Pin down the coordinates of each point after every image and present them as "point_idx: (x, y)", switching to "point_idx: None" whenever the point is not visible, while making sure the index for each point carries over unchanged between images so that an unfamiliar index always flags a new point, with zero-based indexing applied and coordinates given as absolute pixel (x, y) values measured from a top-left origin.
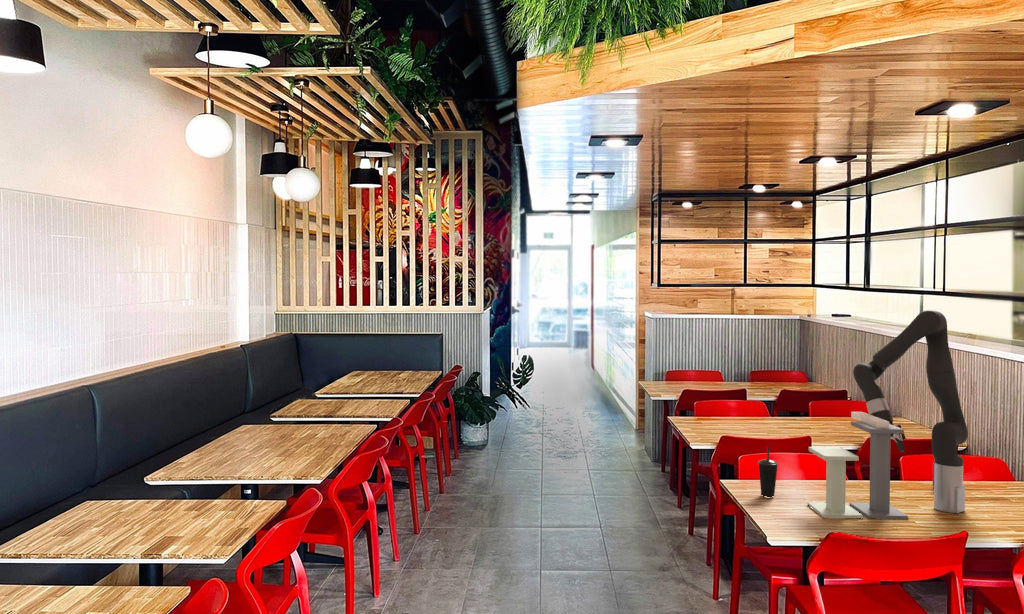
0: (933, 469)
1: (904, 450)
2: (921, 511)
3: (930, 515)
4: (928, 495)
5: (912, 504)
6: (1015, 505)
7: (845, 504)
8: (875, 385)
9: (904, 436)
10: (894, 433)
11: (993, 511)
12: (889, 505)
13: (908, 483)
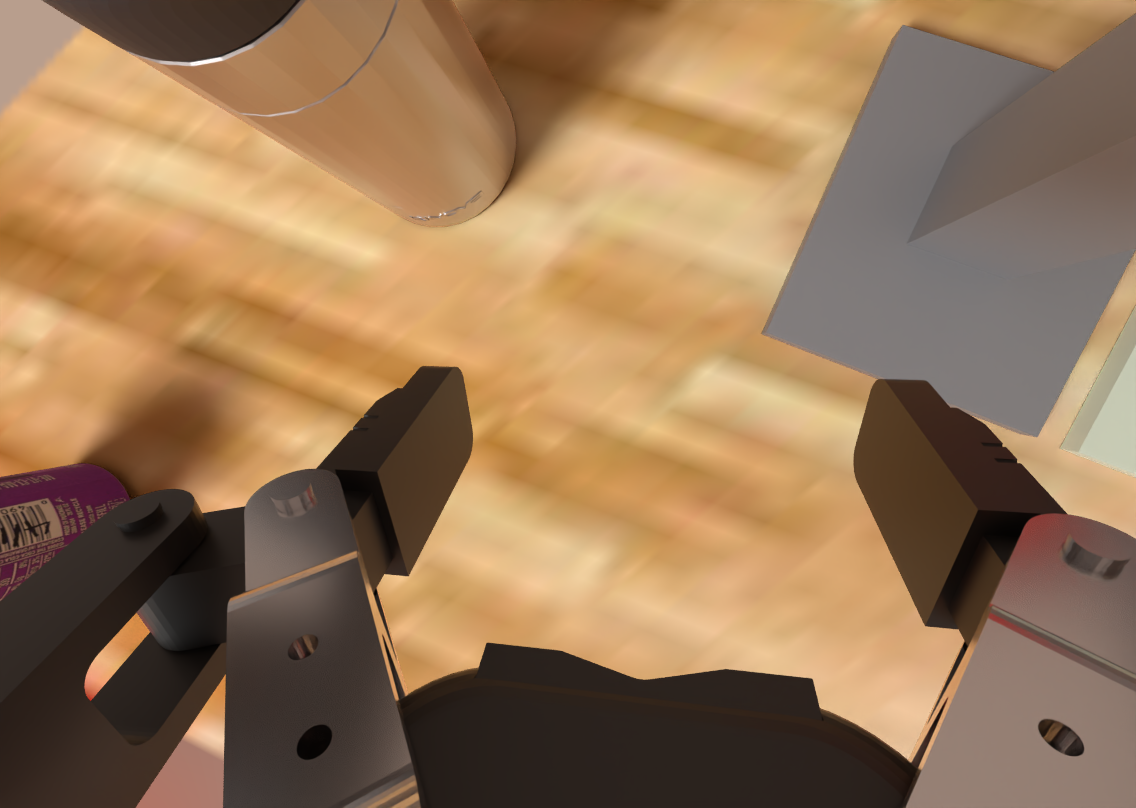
0: (3, 587)
1: (429, 369)
2: (637, 165)
3: (659, 74)
4: (294, 430)
5: (556, 311)
6: (13, 100)
7: (1117, 410)
8: None
9: (94, 544)
10: (391, 685)
11: None
12: (983, 124)
13: None
